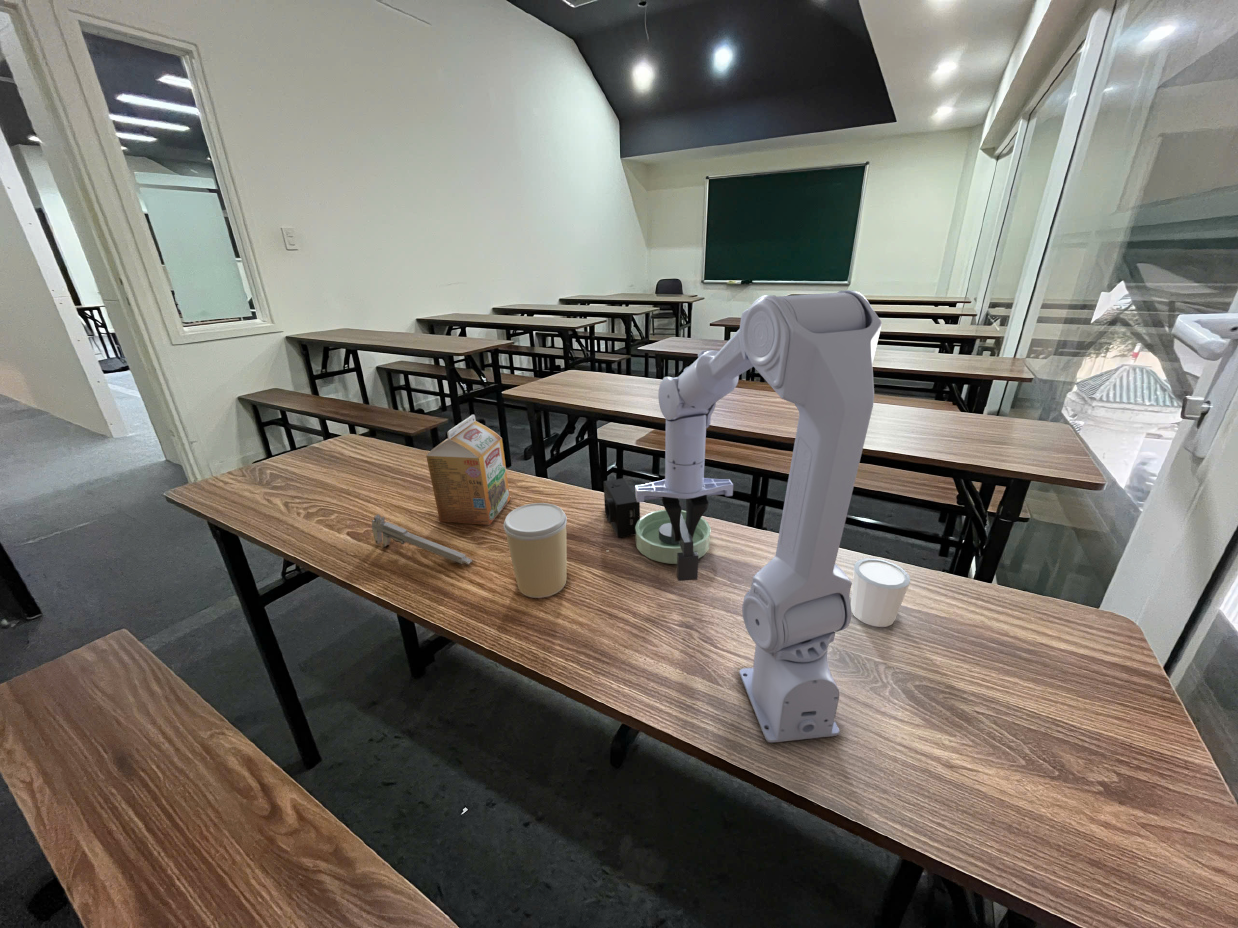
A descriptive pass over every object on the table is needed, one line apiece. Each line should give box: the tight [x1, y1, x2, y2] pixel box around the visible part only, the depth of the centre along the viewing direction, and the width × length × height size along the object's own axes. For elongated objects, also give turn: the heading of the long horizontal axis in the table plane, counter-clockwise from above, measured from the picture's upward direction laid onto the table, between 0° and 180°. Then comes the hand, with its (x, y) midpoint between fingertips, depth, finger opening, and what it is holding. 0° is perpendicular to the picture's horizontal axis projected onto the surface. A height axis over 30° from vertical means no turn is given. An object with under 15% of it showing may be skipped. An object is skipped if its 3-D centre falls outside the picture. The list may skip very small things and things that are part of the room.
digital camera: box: [603, 478, 641, 539], centre depth 91 cm, size 10×5×7 cm, turn 15°
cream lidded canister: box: [503, 502, 568, 599], centre depth 74 cm, size 9×9×12 cm
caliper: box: [371, 513, 473, 565], centre depth 83 cm, size 20×1×6 cm, turn 70°
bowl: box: [634, 509, 712, 565], centre depth 84 cm, size 13×13×4 cm
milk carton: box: [425, 414, 511, 526], centre depth 95 cm, size 11×11×19 cm
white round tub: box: [850, 557, 911, 628], centre depth 66 cm, size 7×7×7 cm
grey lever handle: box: [659, 514, 699, 582], centre depth 79 cm, size 15×5×7 cm, turn 5°
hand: (682, 537), depth 75 cm, fingers closed on grey lever handle
